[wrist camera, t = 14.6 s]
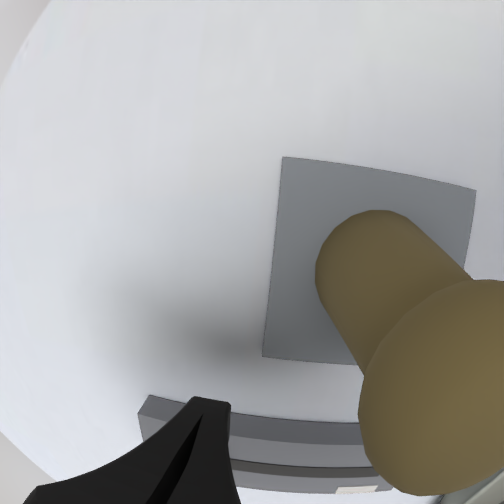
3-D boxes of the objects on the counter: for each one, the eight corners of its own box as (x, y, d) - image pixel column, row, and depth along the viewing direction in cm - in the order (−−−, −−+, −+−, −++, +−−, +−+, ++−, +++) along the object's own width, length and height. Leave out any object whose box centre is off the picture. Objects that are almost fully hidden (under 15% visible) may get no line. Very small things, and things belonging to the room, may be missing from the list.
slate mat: (471, 189, 13) (476, 190, 12) (430, 361, 15) (432, 366, 15) (283, 157, 14) (282, 156, 13) (262, 351, 16) (261, 356, 16)
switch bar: (416, 421, 16) (424, 442, 14) (386, 471, 18) (391, 491, 16) (149, 395, 18) (136, 414, 16) (158, 448, 20) (148, 467, 18)
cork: (412, 334, 14) (506, 500, 4) (303, 321, 15) (306, 535, 4) (443, 222, 13) (625, 306, 2) (326, 198, 13) (440, 271, 3)
